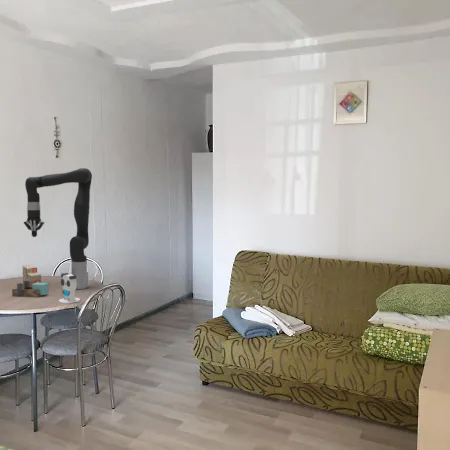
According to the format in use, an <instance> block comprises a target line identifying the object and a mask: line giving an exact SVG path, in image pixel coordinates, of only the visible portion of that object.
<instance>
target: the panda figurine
mask: <svg viewBox="0 0 450 450" xmlns="http://www.w3.org/2000/svg"><path fill="white" fill-rule="evenodd" d="M60 277H61V279H60V285H61V286H62V287H61V288H62V294H63V298H60V299H59V300H58V302H59V303H62V304H74V303H77V302H80V301H81V299H80V298H79V297H76V290H77V289H76V287H77V283H76V275H72V273H70V274H69V273H68V272H65V273H61V275H60Z"/></svg>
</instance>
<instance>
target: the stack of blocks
mask: <svg viewBox="0 0 450 450" xmlns="http://www.w3.org/2000/svg"><path fill="white" fill-rule="evenodd" d="M23 281H30V282H31V287H32V284H34V283H42V274H40V273H39V272H38V267H37V266H35V265H33V264H28V265H27V264H26V265H22V282H23Z"/></svg>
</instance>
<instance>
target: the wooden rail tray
mask: <svg viewBox="0 0 450 450" xmlns="http://www.w3.org/2000/svg"><path fill="white" fill-rule="evenodd" d="M11 296H12V297H25V298H26V297H28V298H40V297H42V296H43V295H40V294H39V290H32V287H31V282H30V281H23V280H22V282H21V283H19V282H18V283H16V288H12V290H11Z"/></svg>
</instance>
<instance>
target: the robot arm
mask: <svg viewBox="0 0 450 450" xmlns="http://www.w3.org/2000/svg"><path fill="white" fill-rule="evenodd" d="M92 179H93V174H92V172H91V171H90V169H88V168H84V167H83V168H82V167H80V168H78V169H75V170H72V171H67V172H63V173H53V174H45V175H41V176H29V177H27V178H26V180H25V184H24V185H25V191H26V195H27V208H26V211H27V212H26V214H27V215H26V216H27V219H26V221H23V224H24V226H25V227H26V228H27V230H29V231H31V236H32V238H36V237H38V231H40V230H41V229H42V227H43V226H44V225H45V221H42V219H41V204H40V203H41V201H40V197H41V196H40V193H39V192H38V189H40V188H44V187H46V188H48V187H54V186H59V185H62V184H63V185H64V184H69V183H70V184H71V183H76V184H78V189H77V194H76V197H75V199H74V205H73V217H74V221H75V223H76V235H75V236H73V237H71V238H70V240H69V257H70V259H71V274H72V275H76V283H77V287H76V290H86V289H87V288H88V287H89V272H88V266H87V265H88V259H87V255H85V249H87V247H88V246H89V243H90V241H89V240H90V239H89V238H90V237H89V219H90V217H89V216H90V197H91V196H90V195H91V186H92Z"/></svg>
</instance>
